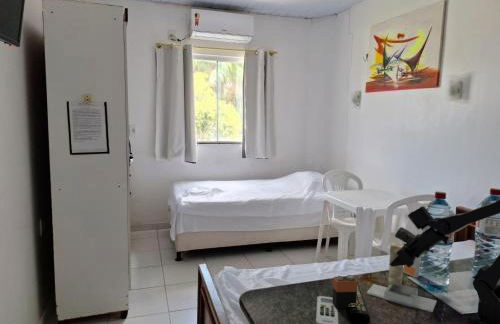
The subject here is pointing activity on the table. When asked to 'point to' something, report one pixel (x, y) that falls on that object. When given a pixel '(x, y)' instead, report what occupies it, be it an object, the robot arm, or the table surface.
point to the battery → (344, 291)
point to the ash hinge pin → (395, 271)
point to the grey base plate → (402, 296)
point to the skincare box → (413, 268)
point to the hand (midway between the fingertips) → (392, 263)
